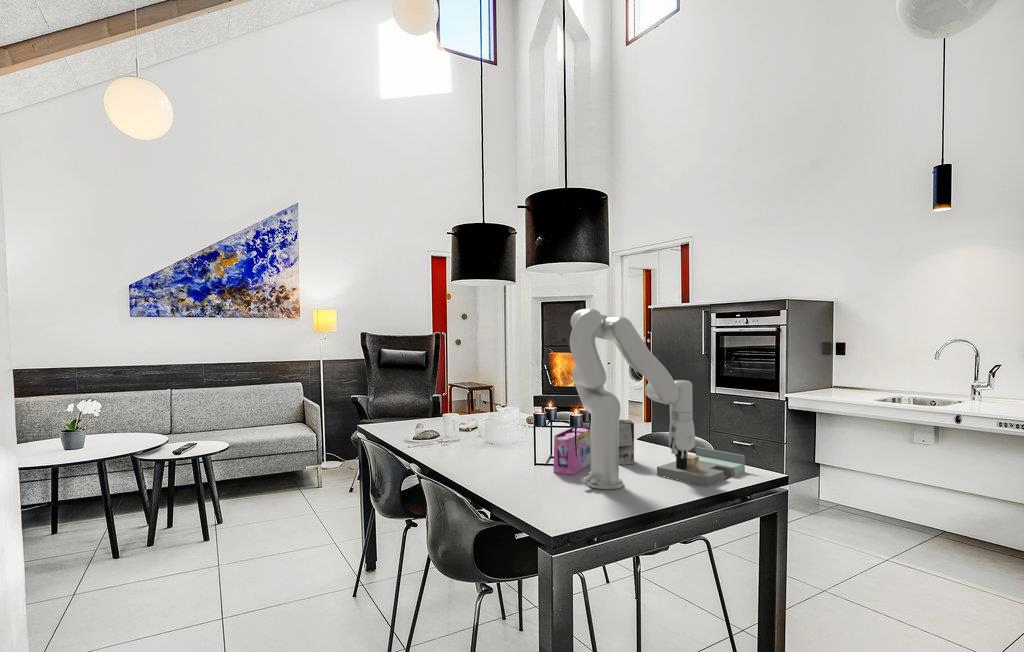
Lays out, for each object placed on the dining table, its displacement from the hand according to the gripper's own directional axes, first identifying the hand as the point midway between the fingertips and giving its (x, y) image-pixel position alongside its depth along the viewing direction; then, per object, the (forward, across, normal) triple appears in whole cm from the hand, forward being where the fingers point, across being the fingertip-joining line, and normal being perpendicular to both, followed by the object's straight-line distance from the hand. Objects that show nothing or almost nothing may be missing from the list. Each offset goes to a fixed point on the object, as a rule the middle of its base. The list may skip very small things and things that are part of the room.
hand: (681, 468), depth 184 cm
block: (+1, +6, 0) cm, 6 cm away
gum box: (+4, -14, +38) cm, 40 cm away
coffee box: (+4, +6, +29) cm, 30 cm away
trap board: (+4, +14, 0) cm, 14 cm away
